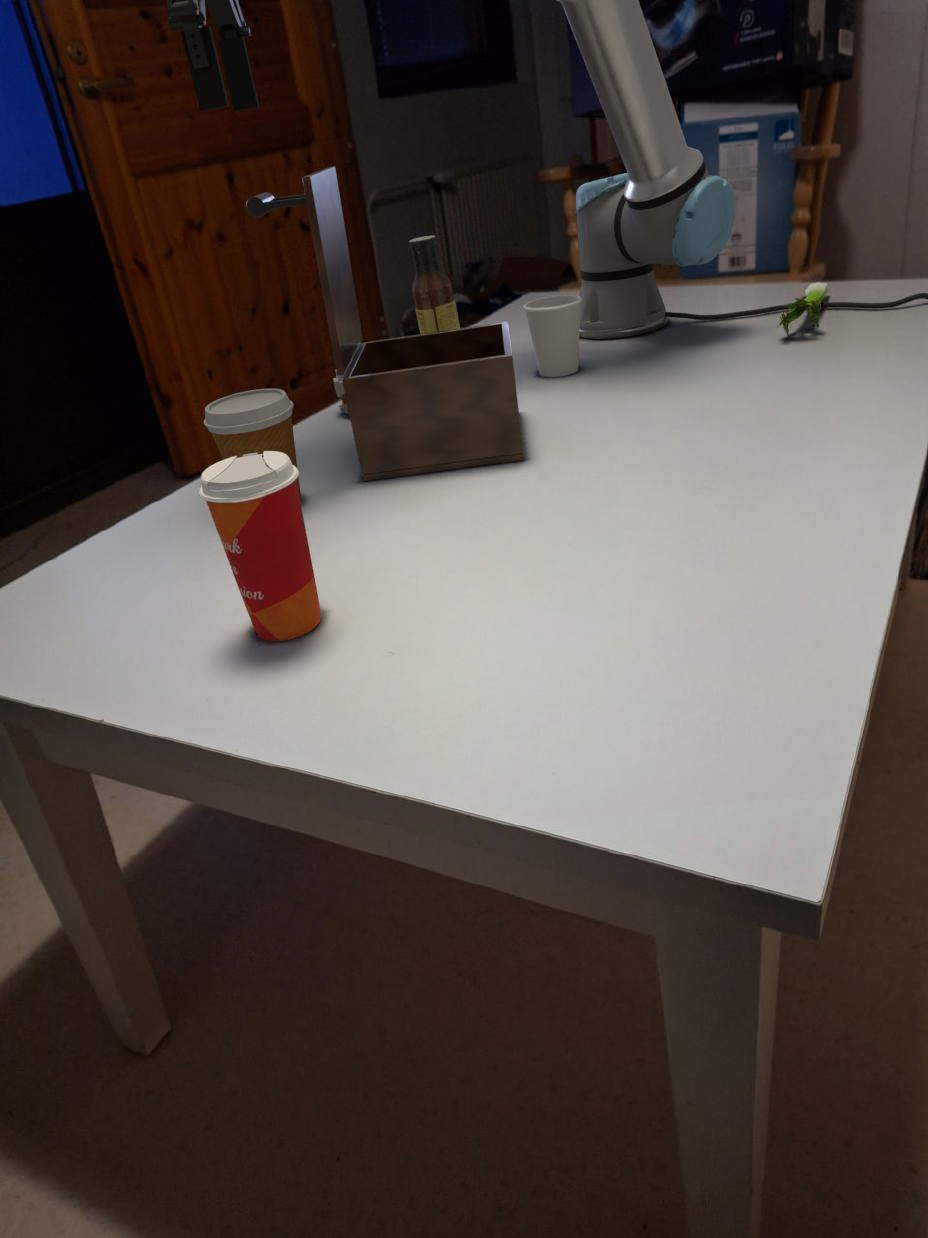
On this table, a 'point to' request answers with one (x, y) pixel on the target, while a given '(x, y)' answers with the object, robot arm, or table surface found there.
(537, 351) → the dixie cup
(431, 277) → the sauce bottle
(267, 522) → the paper cup
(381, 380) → the chest
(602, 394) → the table surface
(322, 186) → the lid
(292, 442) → the disposable coffee cup
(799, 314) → the leek
